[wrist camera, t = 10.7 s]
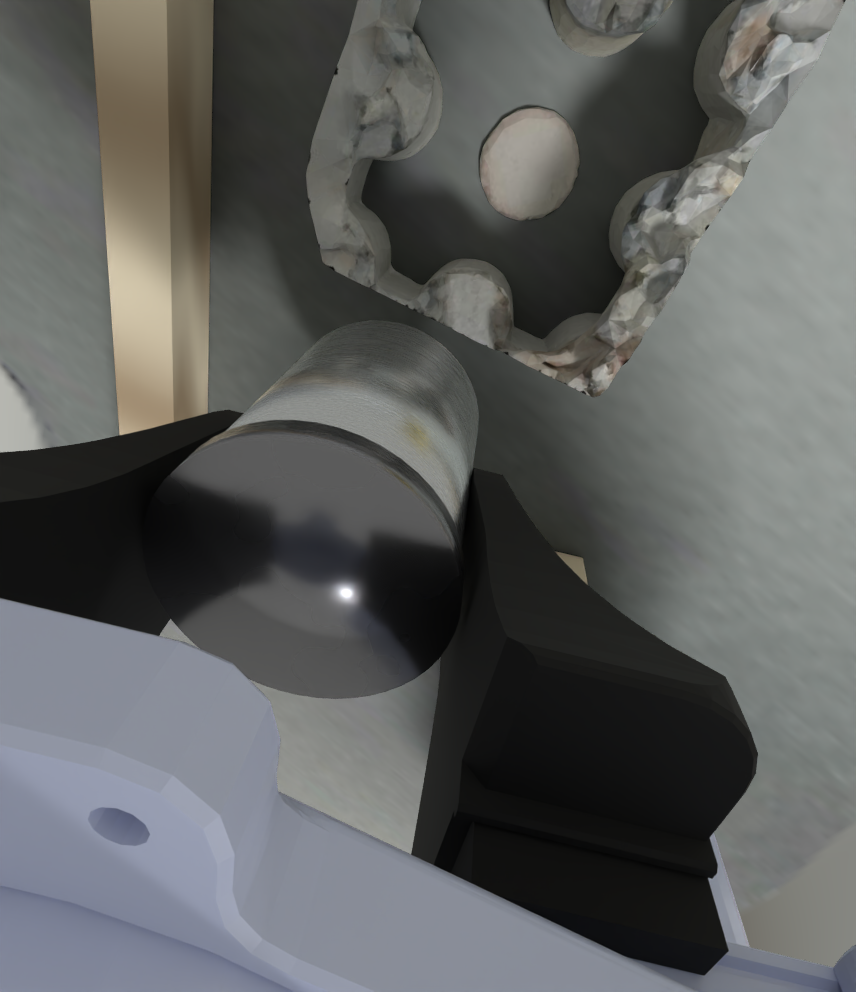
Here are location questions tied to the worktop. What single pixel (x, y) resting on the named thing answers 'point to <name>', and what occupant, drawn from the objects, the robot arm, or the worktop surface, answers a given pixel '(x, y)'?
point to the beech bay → (160, 203)
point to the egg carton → (552, 167)
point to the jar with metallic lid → (327, 519)
